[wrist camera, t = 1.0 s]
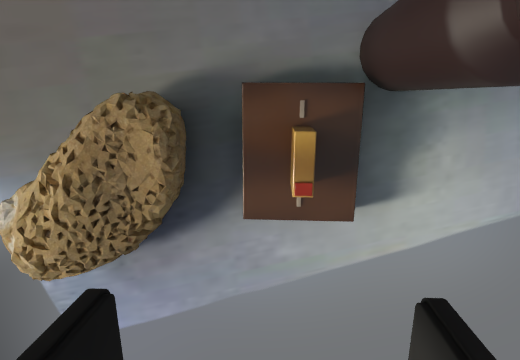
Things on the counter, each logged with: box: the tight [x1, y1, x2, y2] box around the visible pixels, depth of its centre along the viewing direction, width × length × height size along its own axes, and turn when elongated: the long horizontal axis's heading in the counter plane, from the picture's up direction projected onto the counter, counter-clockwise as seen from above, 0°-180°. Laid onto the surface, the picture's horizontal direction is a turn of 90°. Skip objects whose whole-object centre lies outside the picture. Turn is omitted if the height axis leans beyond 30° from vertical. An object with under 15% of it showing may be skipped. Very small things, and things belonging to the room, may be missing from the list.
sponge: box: [0, 91, 186, 281], centre depth 29 cm, size 13×8×20 cm
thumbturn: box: [290, 126, 317, 197], centre depth 25 cm, size 5×2×4 cm, turn 0°
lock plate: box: [242, 83, 365, 222], centre depth 29 cm, size 12×10×3 cm
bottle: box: [360, 0, 520, 91], centre depth 18 cm, size 7×7×20 cm
